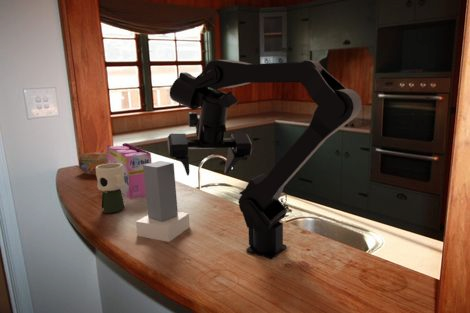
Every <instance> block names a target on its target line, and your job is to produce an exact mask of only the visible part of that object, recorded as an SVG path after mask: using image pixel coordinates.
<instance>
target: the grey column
mask: <svg viewBox="0 0 470 313" xmlns="http://www.w3.org/2000/svg"><path fill="white" fill-rule="evenodd" d="M174 163H175V162H170V161H169V162H168V161H163V160H158V161H155V162H151V163H150V164H146V165H143V169H144V179H145V189H146V196H145V197H146V206H147V208H146V209H147V215H148V218H151V219H154V220H157V221H160V222H163V221H165V220H168V219H170V218H173V217H175V216H178V212H179V211H178V200H177V198H178V197H177V188H176V177H175V176H176V175H175V174H176V173H175V164H174Z"/></svg>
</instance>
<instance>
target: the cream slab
mask: <svg viewBox="0 0 470 313" xmlns="http://www.w3.org/2000/svg"><path fill="white" fill-rule="evenodd" d="M190 224H191V223H190V213H189V212H182V211H178V216H175V217H173V218H170V219H168V220H165V221H163V222H160V221H157V220H154V219H151V218H148V214H147V215H145V216H142V218H139V219H138V220H136V221H135V225H136V236H137V237H141V238H148V239H152V240H158V241H163V242H168V243H170V242H171V241H172V240H174V239H176V238H177V237H178V236H180V235H181V234H183V233H184V232H185V231H187V230H188V229H189V228H190V227H191V225H190Z"/></svg>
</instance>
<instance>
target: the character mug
mask: <svg viewBox="0 0 470 313" xmlns="http://www.w3.org/2000/svg"><path fill="white" fill-rule="evenodd" d="M95 176H96V180H97V185H96V186H97V189H98V191H102V193H101V210H103V212H104V213H107V214H108V213H116V212H118V211H120V210H123V209H125V207H126V206H125V202H124V197H123V193H122V192H121V190H120V188H122V187H124V175H123V165H122V164H120V163H107V164H102V165H98V166H96V175H95Z"/></svg>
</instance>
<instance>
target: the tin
mask: <svg viewBox="0 0 470 313" xmlns="http://www.w3.org/2000/svg"><path fill="white" fill-rule="evenodd" d="M78 163H79V164H78V166H79V168H80V170H81V171H82V172H83V173H84V174H86V175H94V176H96V166H98V165H102V164H107V163H108V158H107V152H85V153H82V155H81V156H80V158H79V160H78Z"/></svg>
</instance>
